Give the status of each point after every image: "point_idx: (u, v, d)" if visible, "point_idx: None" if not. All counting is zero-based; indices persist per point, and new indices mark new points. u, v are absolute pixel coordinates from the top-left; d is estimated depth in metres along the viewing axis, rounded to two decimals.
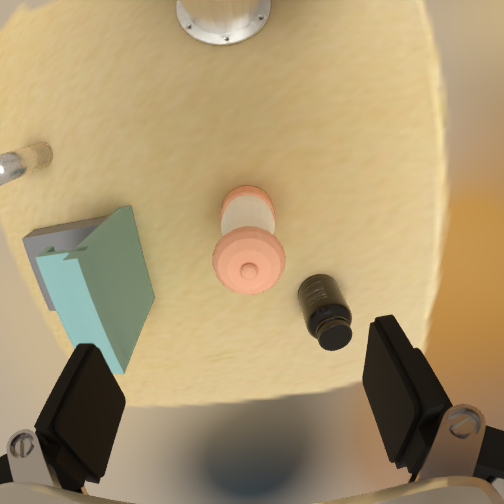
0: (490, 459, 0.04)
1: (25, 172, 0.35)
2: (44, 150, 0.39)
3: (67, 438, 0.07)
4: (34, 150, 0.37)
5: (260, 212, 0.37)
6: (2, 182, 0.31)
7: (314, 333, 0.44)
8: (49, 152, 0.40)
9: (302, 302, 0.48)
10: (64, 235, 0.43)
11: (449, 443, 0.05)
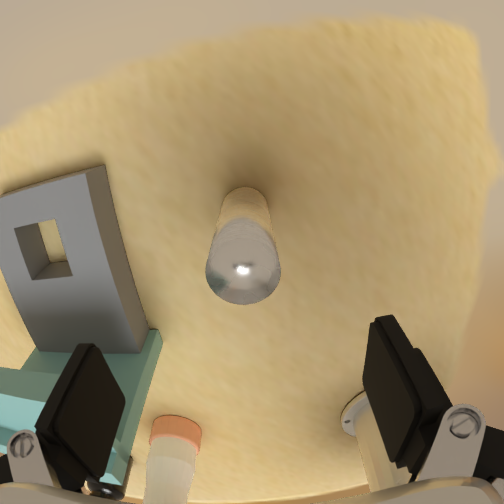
0: (490, 459, 0.04)
1: None
2: None
3: (67, 438, 0.07)
4: None
5: None
6: (213, 287, 0.18)
7: (93, 488, 0.36)
8: None
9: None
10: (105, 277, 0.26)
11: (449, 443, 0.05)
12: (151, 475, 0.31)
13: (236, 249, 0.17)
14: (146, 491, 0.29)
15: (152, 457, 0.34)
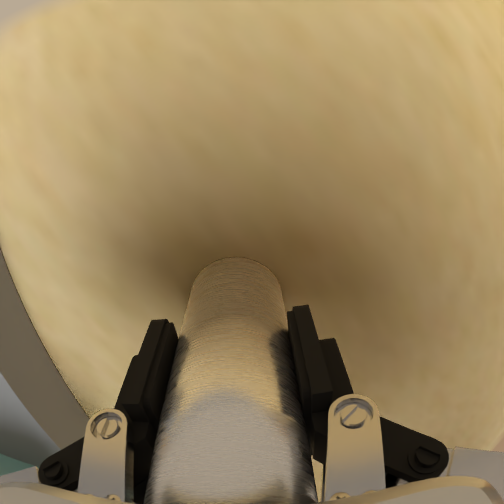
0: (384, 455, 0.06)
1: None
2: None
3: (155, 413, 0.08)
4: None
5: None
6: None
7: None
8: None
9: None
10: (14, 401, 0.12)
11: (345, 437, 0.06)
12: None
13: None
14: None
15: None
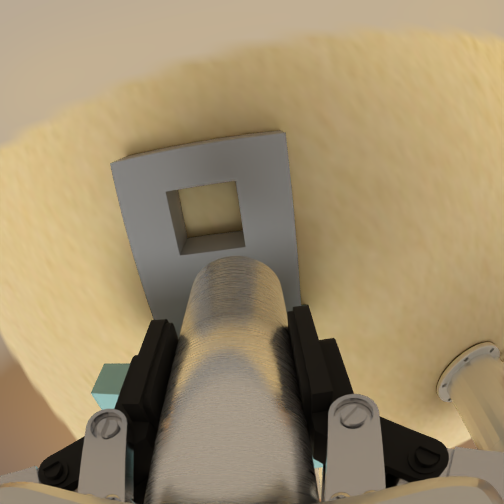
0: (384, 455, 0.06)
1: None
2: None
3: (156, 413, 0.08)
4: None
5: None
6: None
7: None
8: None
9: None
10: (288, 247, 0.27)
11: (345, 436, 0.06)
12: None
13: None
14: None
15: None
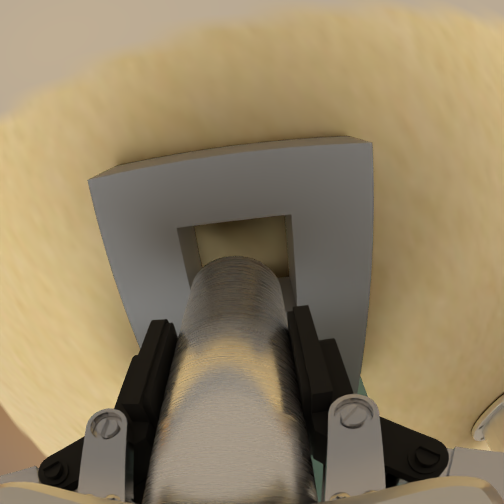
0: (384, 455, 0.06)
1: None
2: None
3: (155, 413, 0.08)
4: None
5: None
6: None
7: None
8: None
9: None
10: (356, 309, 0.18)
11: (345, 437, 0.06)
12: None
13: None
14: None
15: None
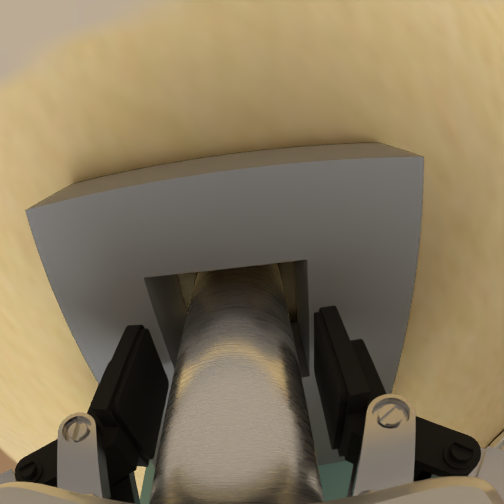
0: (420, 453, 0.05)
1: None
2: None
3: (125, 418, 0.07)
4: None
5: None
6: None
7: None
8: None
9: None
10: (383, 370, 0.13)
11: (380, 435, 0.06)
12: None
13: None
14: None
15: None
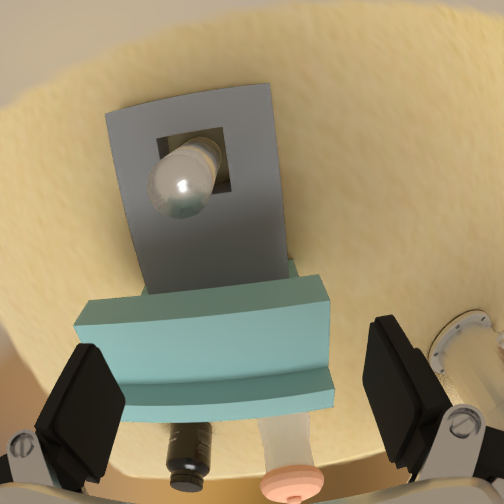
0: (490, 459, 0.04)
1: None
2: None
3: (67, 438, 0.07)
4: None
5: None
6: (154, 202, 0.19)
7: (177, 466, 0.38)
8: None
9: (190, 435, 0.42)
10: (273, 192, 0.27)
11: (449, 443, 0.05)
12: (273, 428, 0.33)
13: (171, 165, 0.18)
14: (270, 447, 0.31)
15: None
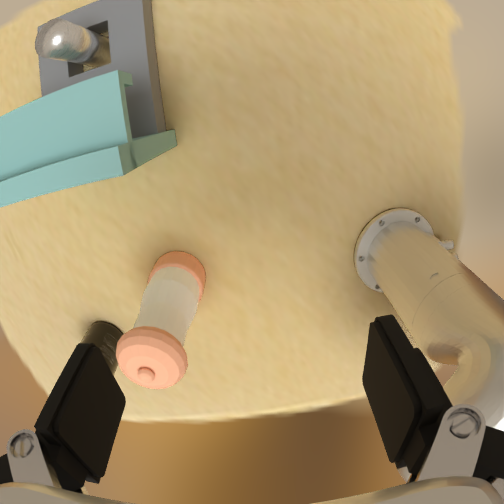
0: (490, 459, 0.05)
1: None
2: (101, 63, 0.29)
3: (67, 438, 0.07)
4: (95, 58, 0.27)
5: (189, 325, 0.35)
6: (37, 50, 0.20)
7: None
8: None
9: (97, 336, 0.43)
10: (140, 58, 0.28)
11: (449, 443, 0.05)
12: (146, 299, 0.33)
13: (49, 26, 0.19)
14: (138, 317, 0.31)
15: (150, 284, 0.35)
